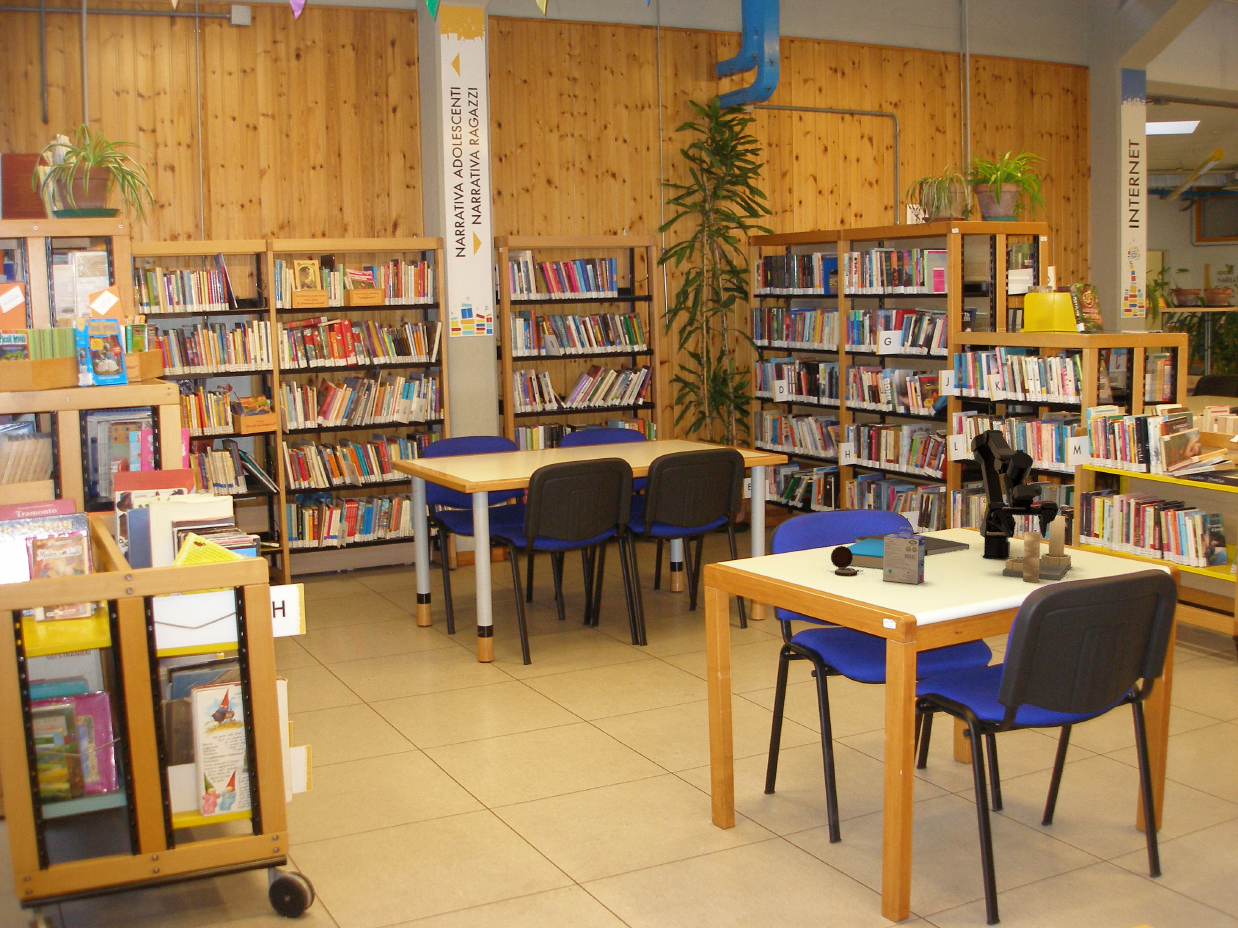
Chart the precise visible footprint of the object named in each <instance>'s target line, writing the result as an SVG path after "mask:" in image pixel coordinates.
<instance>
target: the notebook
mask: <svg viewBox="0 0 1238 928" xmlns="http://www.w3.org/2000/svg"><path fill="white" fill-rule="evenodd" d="M898 532H899V531H897V532H890V533H881V534H873V535H866V536H857V537H855V538H854V539H855V544H856V543H858V542H860V541H863V540H865V539H879V540H884V537H885V536H887V535H889V534H894V535H898ZM912 536H924V537H925V553H924V557H926V556H932V555H938V554H947V553H952V551H953V552H957V551H956V550H960V551H964V550H963V549H966V550H970V544H969V543H964V542H960V541H953V540H948V539H944V538H943V539H942V538H938V537H933V536H928V535H922V534H916V533H912ZM946 552H947V553H946Z"/></svg>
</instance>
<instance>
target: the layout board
mask: <svg viewBox="0 0 1238 928" xmlns="http://www.w3.org/2000/svg"><path fill="white" fill-rule="evenodd" d="M1065 528H1066V516H1063V515H1056V517H1055V520H1054V521H1052V522H1050V523H1049V529H1048V530H1049V531H1048V532H1049V533H1048V552H1047V553H1046V552H1045V553H1044V552H1043V553H1042V554H1041V555H1040V556H1041V558H1040V562H1039V580H1046V581H1047V580H1049V581H1056V582H1057V581H1058V582H1059V581H1060V580H1062V578H1063V576H1064V575H1065V574H1067V572H1068V571H1069V570H1070V568H1071V567H1072V561H1071V560H1072V556H1071V555H1069V554H1066V553H1065V533H1066V532H1065ZM1023 563H1024V556H1017V557H1016V558H1008V559H1007V558H1006V559H1005V568H1003V569H1002V576H1003V577H1014V578H1023Z"/></svg>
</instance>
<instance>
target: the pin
mask: <svg viewBox="0 0 1238 928" xmlns="http://www.w3.org/2000/svg"><path fill="white" fill-rule="evenodd" d="M1023 535H1024V537H1023V540H1024V541H1023V557H1024V563H1023V577H1022V581H1023V582H1026V583H1036V584H1037V583H1040V579H1039V562H1040V559H1041V558H1040V556H1041V553H1040V552H1041V532H1038V531H1025V532H1024V534H1023Z"/></svg>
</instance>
